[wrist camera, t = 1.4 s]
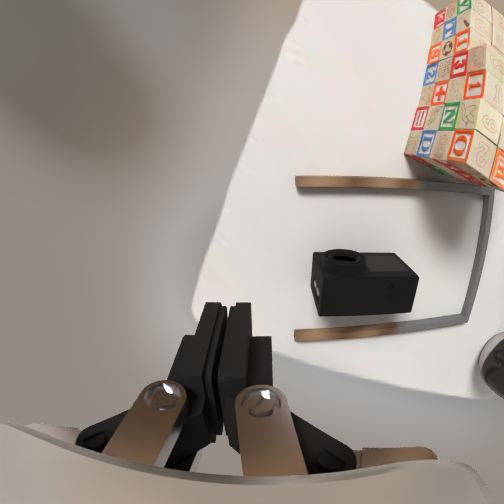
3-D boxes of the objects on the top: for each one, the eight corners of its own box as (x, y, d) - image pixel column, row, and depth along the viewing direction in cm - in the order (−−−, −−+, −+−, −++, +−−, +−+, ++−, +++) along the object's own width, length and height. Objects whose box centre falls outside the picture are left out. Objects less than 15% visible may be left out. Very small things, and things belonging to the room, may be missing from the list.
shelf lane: (414, 179, 29) (418, 180, 28) (393, 328, 36) (396, 333, 35) (295, 175, 30) (296, 176, 29) (294, 335, 37) (294, 341, 36)
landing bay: (489, 186, 28) (494, 188, 27) (463, 318, 35) (467, 322, 34) (414, 179, 29) (418, 180, 28) (393, 328, 36) (396, 333, 35)
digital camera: (397, 243, 32) (423, 265, 25) (390, 284, 34) (412, 313, 27) (313, 241, 32) (324, 265, 26) (310, 285, 34) (319, 317, 28)
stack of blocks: (433, 13, 21) (485, -20, 9) (470, 38, 21) (526, 17, 10) (402, 155, 28) (467, 164, 17) (442, 176, 29) (510, 195, 17)
